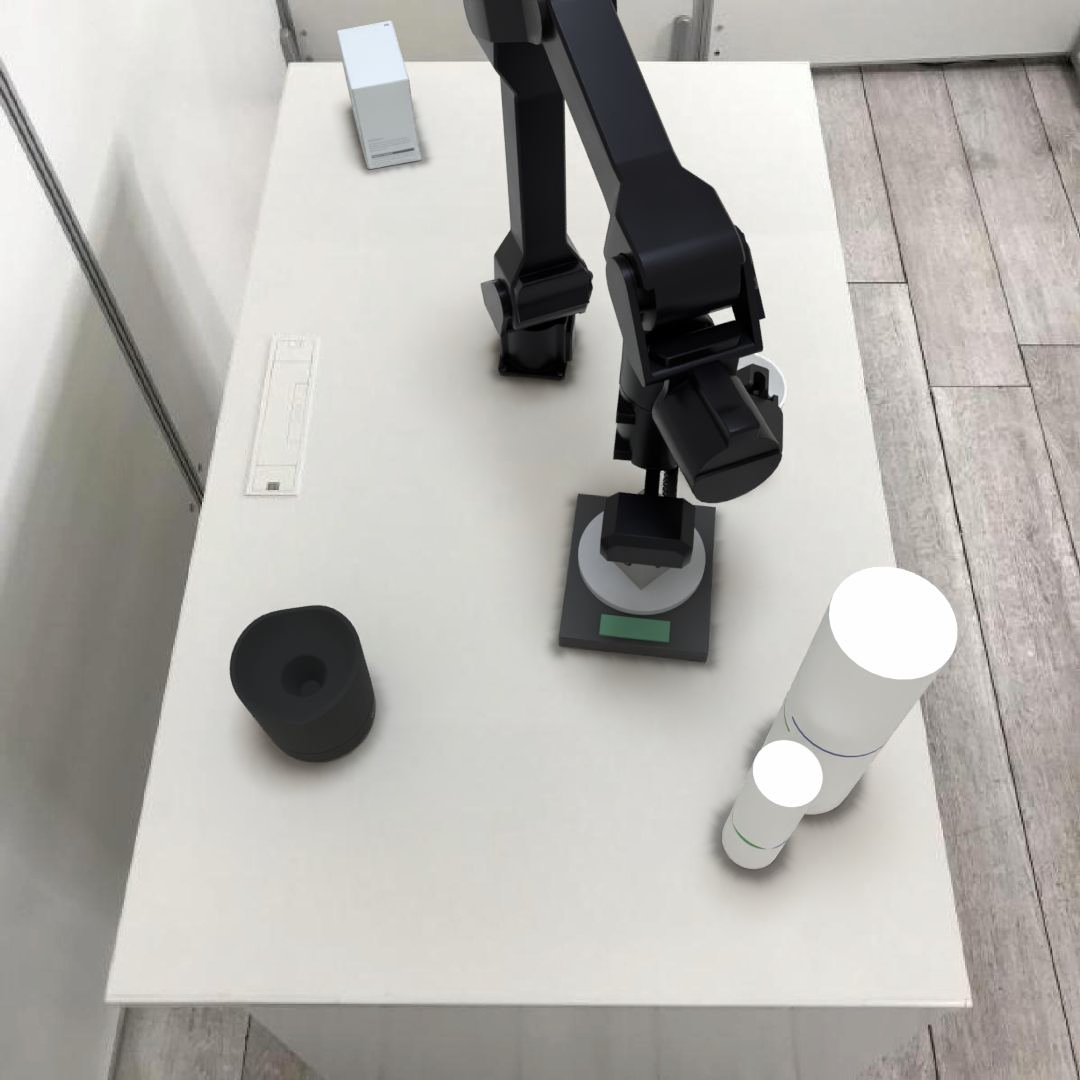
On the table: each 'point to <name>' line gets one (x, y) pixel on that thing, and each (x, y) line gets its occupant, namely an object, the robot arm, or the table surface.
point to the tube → (771, 803)
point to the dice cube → (641, 570)
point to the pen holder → (305, 681)
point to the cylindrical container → (864, 673)
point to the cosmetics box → (379, 94)
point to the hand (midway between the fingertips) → (647, 509)
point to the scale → (636, 595)
